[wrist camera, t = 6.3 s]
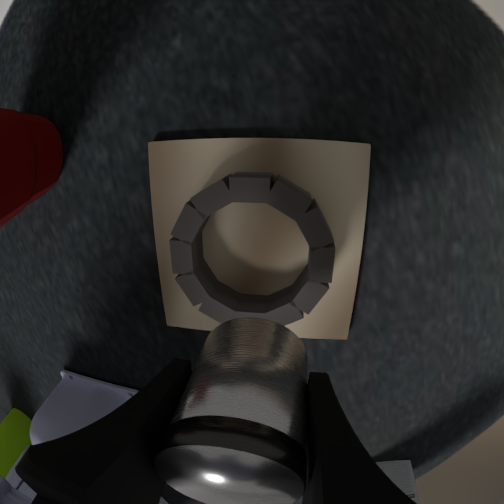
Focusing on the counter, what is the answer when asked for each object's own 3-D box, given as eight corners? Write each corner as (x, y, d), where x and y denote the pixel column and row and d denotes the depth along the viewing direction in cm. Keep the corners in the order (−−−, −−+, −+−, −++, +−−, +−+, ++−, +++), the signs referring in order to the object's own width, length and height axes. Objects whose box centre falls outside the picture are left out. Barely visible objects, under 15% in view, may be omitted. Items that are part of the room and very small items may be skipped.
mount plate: (169, 320, 21) (156, 342, 19) (152, 141, 17) (131, 144, 14) (345, 333, 20) (350, 359, 17) (368, 143, 15) (380, 146, 13)
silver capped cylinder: (208, 390, 14) (170, 498, 8) (196, 312, 12) (134, 431, 7) (304, 398, 13) (298, 515, 8) (313, 318, 12) (315, 456, 6)
